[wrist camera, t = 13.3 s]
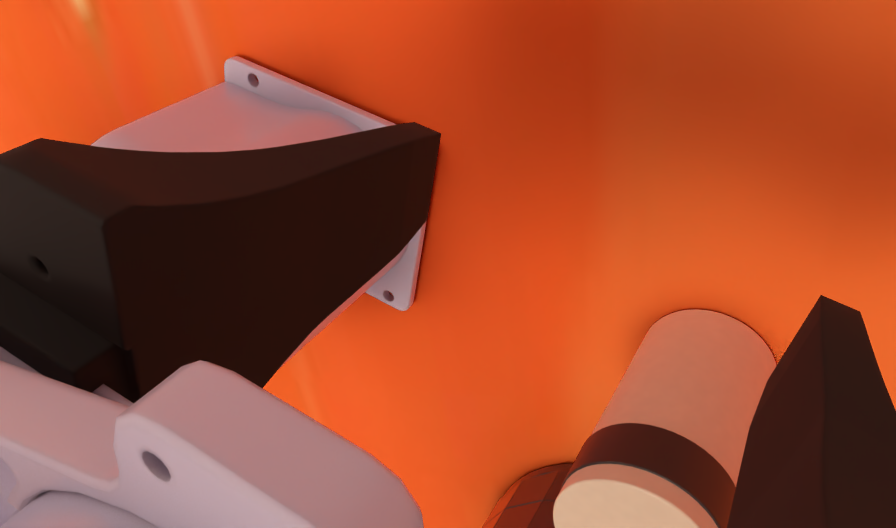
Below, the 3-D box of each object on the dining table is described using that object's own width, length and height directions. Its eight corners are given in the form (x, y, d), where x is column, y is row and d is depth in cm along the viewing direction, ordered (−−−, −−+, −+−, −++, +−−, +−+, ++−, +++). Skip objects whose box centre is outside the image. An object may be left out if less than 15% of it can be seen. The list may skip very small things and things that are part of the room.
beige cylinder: (625, 377, 27) (534, 545, 21) (666, 285, 24) (573, 449, 18) (746, 438, 25) (684, 636, 20) (805, 347, 23) (752, 547, 17)
